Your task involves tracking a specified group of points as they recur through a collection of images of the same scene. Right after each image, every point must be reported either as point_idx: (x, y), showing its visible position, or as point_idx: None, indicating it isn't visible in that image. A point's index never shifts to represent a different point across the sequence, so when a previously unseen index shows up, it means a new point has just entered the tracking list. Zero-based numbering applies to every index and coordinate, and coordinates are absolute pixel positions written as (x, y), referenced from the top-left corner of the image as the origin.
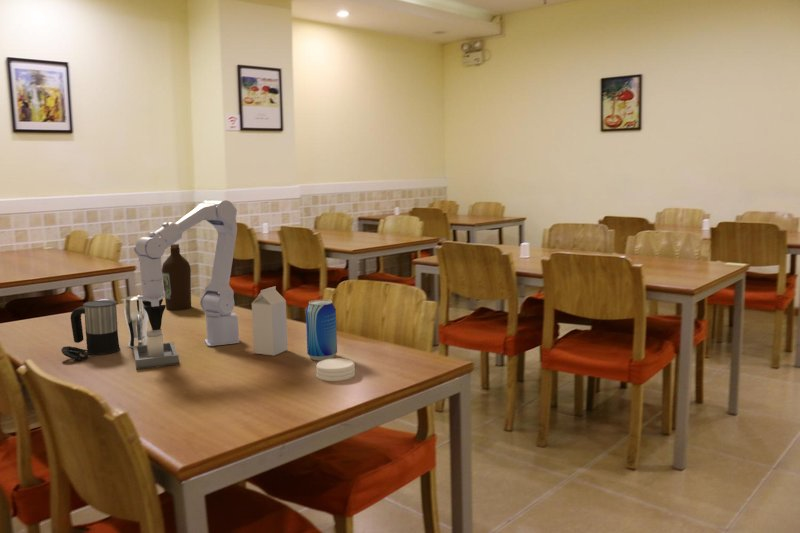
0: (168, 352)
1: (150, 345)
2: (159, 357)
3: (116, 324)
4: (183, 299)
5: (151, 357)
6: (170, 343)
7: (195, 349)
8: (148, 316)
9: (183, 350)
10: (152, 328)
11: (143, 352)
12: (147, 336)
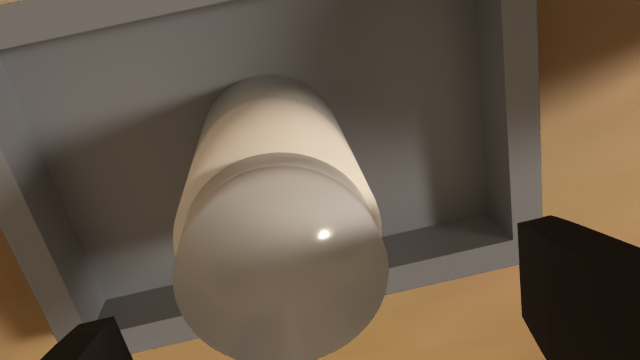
0: (401, 215)
1: (192, 162)
2: (7, 239)
3: None
4: None
5: (204, 122)
6: (494, 250)
7: (473, 357)
8: (613, 280)
9: (479, 289)
10: (56, 348)
11: (475, 2)
12: (224, 168)
